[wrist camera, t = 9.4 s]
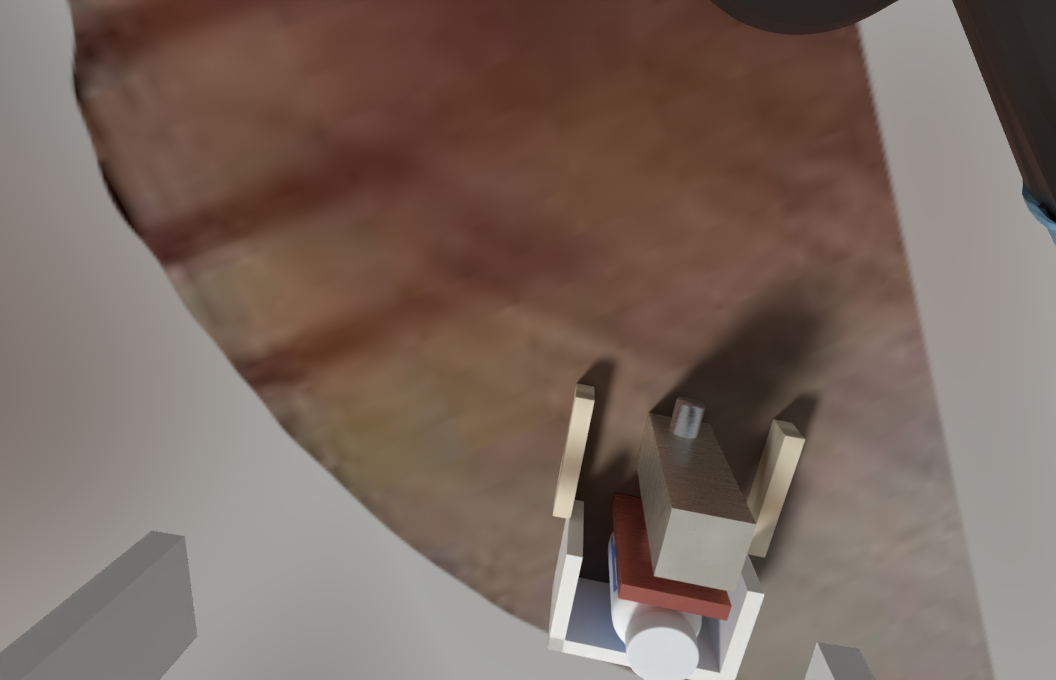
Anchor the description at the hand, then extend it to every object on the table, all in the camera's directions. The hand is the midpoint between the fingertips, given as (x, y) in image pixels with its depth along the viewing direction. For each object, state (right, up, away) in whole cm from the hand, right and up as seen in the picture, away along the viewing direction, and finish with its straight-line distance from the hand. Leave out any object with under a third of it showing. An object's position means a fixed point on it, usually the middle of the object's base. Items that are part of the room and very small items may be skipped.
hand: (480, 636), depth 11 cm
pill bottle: (+9, -9, +28) cm, 31 cm away
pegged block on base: (+11, -1, +26) cm, 28 cm away
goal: (+9, -10, +28) cm, 31 cm away
